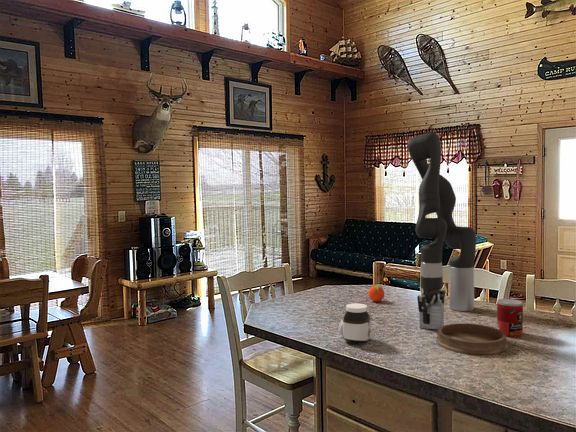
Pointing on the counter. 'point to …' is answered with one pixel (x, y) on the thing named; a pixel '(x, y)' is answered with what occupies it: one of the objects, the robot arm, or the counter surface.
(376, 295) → the clementine
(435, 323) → the medicine box
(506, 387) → the counter surface
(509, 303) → the canned food
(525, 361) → the counter surface
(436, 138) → the robot arm
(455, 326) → the round wooden tray
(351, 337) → the spread jar
